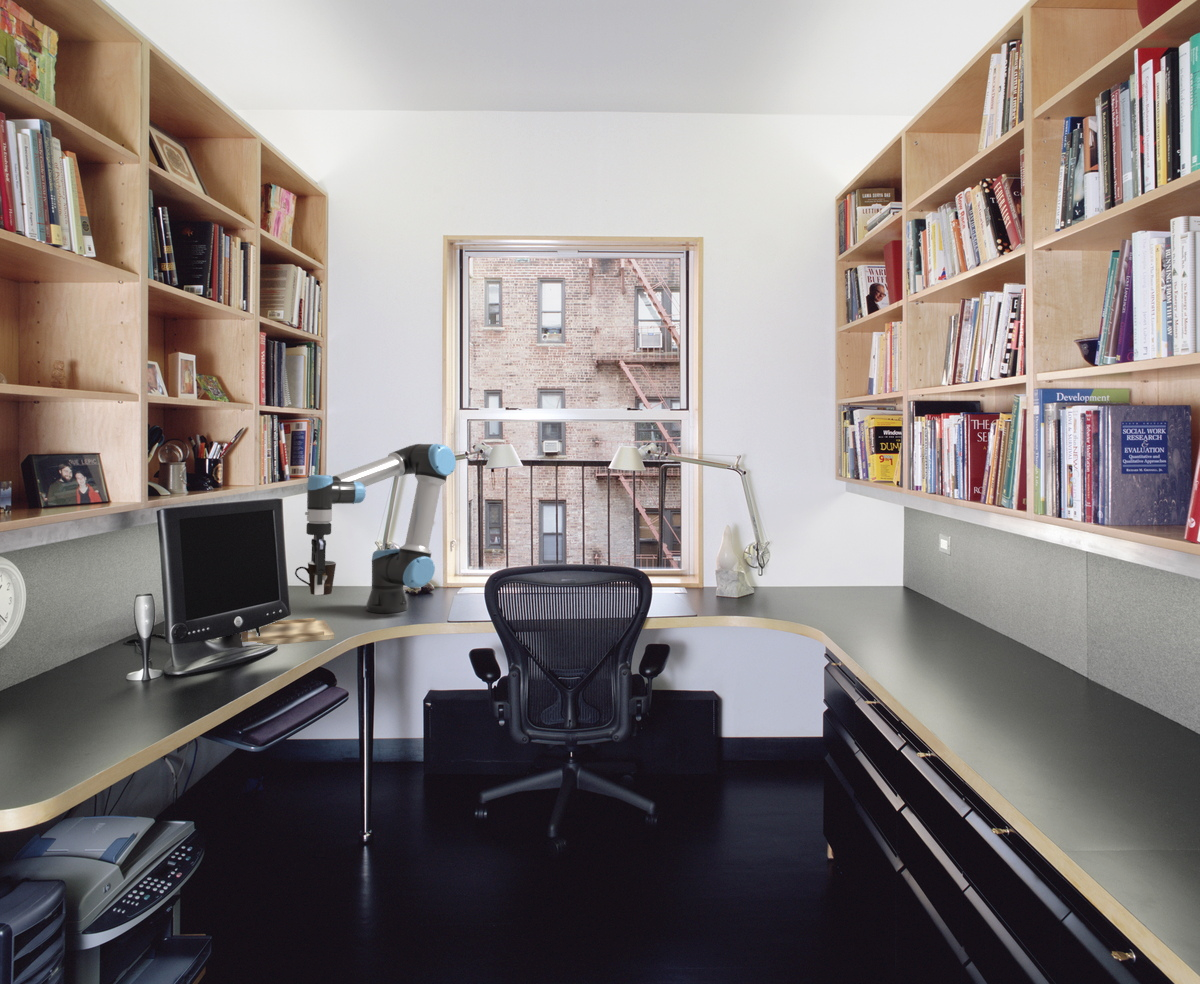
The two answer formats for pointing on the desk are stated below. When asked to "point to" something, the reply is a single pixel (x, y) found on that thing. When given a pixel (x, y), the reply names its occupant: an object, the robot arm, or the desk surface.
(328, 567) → the coffee mug
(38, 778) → the desk surface
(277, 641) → the channel board
